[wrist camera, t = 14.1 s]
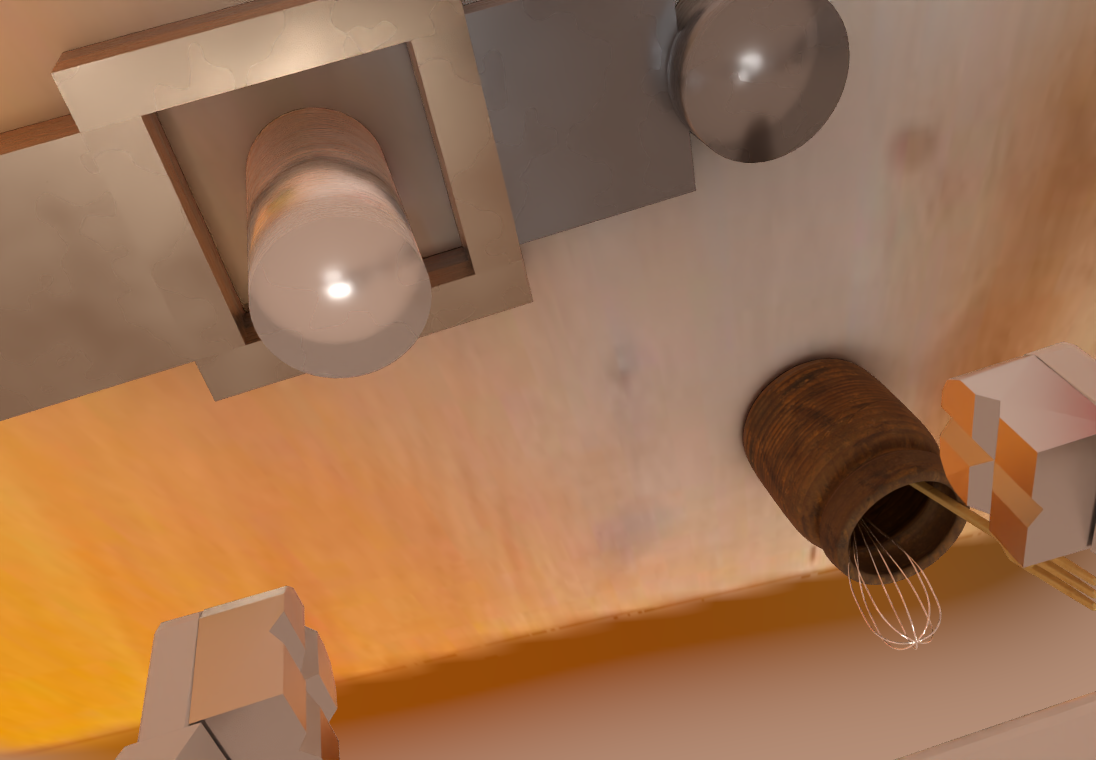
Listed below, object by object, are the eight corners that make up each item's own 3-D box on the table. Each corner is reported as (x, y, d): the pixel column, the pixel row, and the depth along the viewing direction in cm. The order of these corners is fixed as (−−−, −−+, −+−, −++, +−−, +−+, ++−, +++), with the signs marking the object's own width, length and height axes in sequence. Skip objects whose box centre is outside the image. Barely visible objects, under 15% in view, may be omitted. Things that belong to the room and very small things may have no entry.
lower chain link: (801, -147, 27) (847, -139, 25) (812, 181, 32) (851, 210, 30) (62, 52, 24) (46, 78, 22) (216, 366, 30) (214, 410, 28)
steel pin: (364, 91, 27) (404, 195, 21) (403, 218, 29) (449, 348, 23) (224, 129, 27) (220, 248, 20) (274, 255, 29) (284, 399, 22)
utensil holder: (722, 392, 36) (898, 624, 27) (872, 324, 37) (1101, 530, 27) (751, 497, 40) (917, 736, 30) (888, 435, 40) (1097, 653, 30)
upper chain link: (438, -50, 26) (456, -33, 24) (517, 273, 31) (537, 309, 29) (-369, 169, 23) (-427, 207, 21) (-125, 472, 29) (-151, 526, 27)
